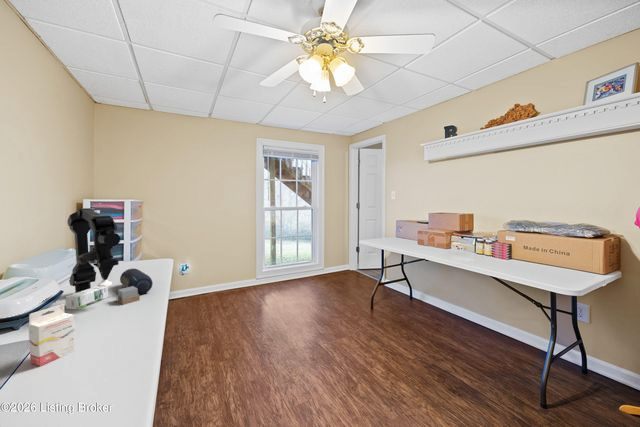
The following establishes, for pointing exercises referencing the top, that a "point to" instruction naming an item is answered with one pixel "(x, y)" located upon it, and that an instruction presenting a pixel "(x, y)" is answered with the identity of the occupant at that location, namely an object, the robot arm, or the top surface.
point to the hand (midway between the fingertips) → (104, 279)
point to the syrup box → (86, 297)
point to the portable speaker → (136, 280)
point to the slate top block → (127, 292)
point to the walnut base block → (128, 299)
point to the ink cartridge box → (51, 335)
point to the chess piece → (104, 283)
